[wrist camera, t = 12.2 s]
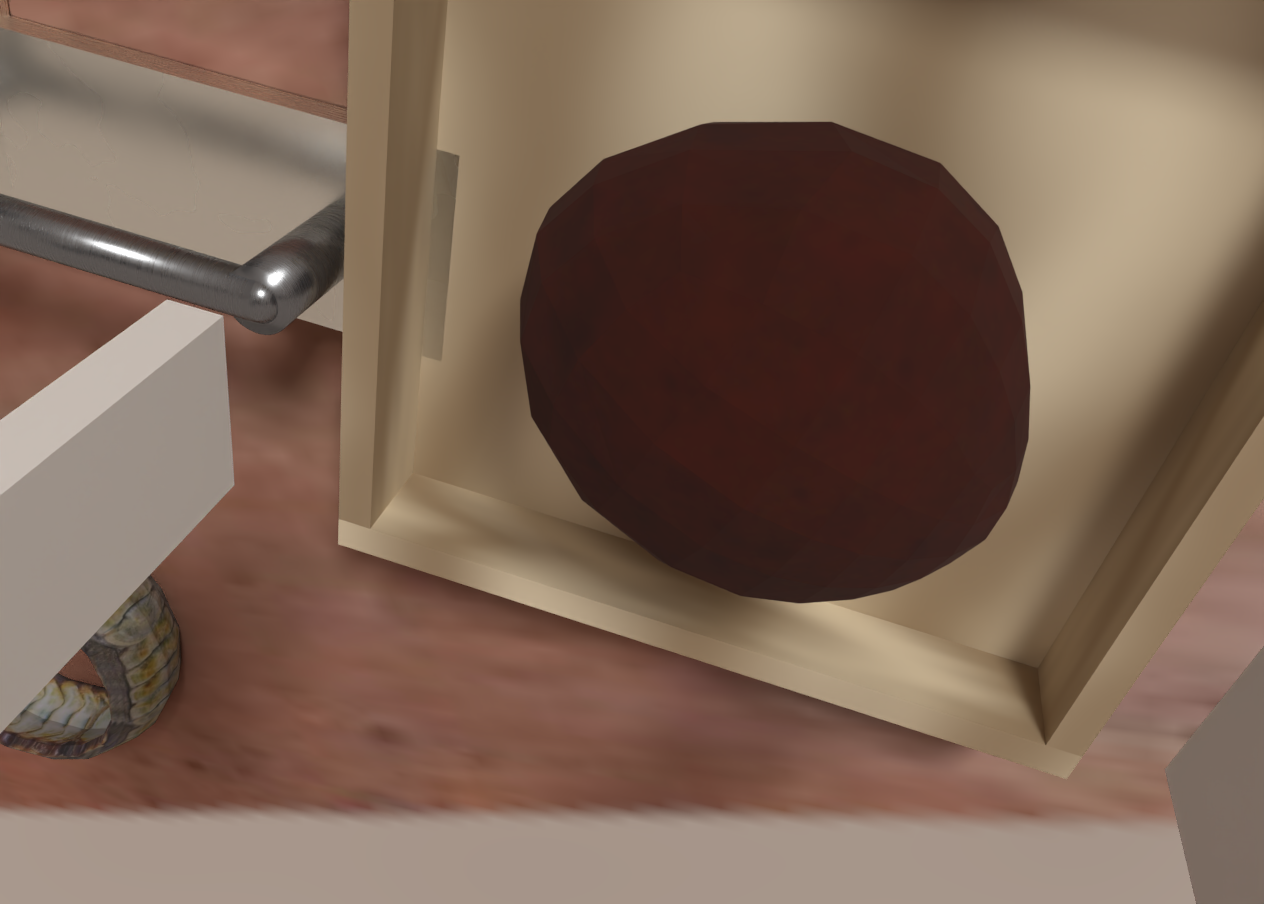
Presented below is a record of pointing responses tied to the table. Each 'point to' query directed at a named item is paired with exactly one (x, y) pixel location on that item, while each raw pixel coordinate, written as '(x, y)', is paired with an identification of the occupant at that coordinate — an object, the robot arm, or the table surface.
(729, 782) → the table surface
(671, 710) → the table surface
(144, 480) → the robot arm
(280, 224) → the corner grab bar
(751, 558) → the dark brown ball
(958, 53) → the tray
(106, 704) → the decorative ring
